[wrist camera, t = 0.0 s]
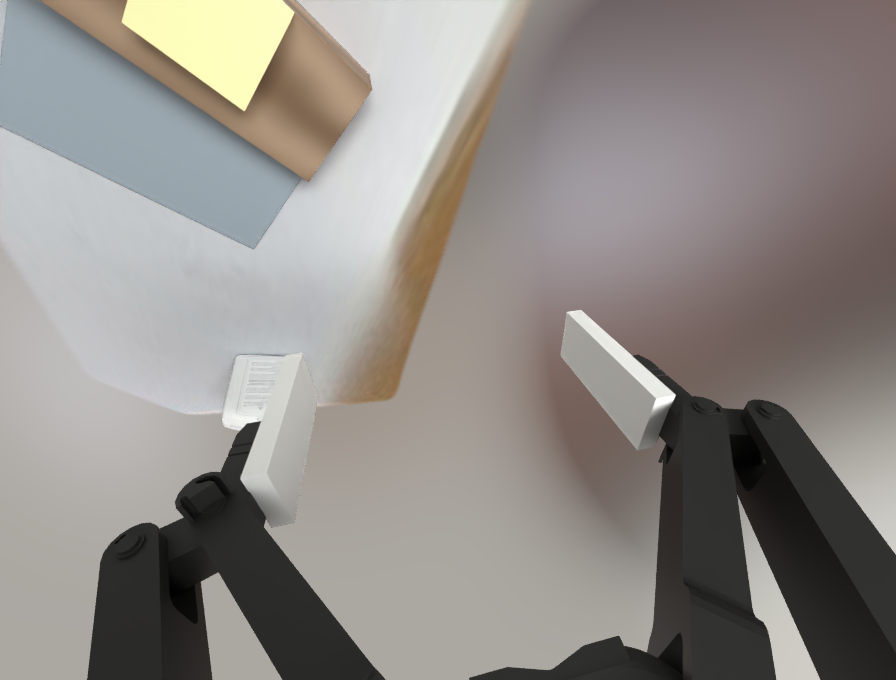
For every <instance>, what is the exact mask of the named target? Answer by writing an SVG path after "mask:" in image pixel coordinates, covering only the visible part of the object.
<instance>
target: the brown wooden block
mask: <svg viewBox="0 0 896 680" xmlns="http://www.w3.org/2000/svg"><path fill="white" fill-rule="evenodd" d="M40 1H42V2H43V3H45V4H46V5H47V6H49V7H50V8H52V9H53V10H55V11H56V12H58V13H59V14H61V15H62V16H64V17H65V18H67V19H68V20H70V21H71V22H73V23H74V24H76V25H77V26H79V27H80V28H82V29H83V30H84V31H86V32H87V33H89V34H90V35H92V36H93V37H95V38H96V39H98V40H99V41H101V42H102V43H104V44H105V45H107V46H108V47H110V48H111V49H113V50H114V51H116V52H117V53H118V54H120V55H121V56H123V57H124V58H126V59H127V60H129V61H130V62H132V63H133V64H135V65H136V66H138V67H139V68H141V69H142V70H144V71H145V72H147V73H148V74H150V75H151V76H153V77H154V78H155V79H157V80H158V81H160V82H161V83H163V84H164V85H166V86H167V87H169V88H170V89H172V90H173V91H175V92H176V93H178V94H179V95H181V96H182V97H184V98H185V99H187V100H188V101H190V102H191V103H192V104H194V105H195V106H197V107H198V108H200V109H201V110H203V111H204V112H206V113H207V114H209V115H210V116H212V117H213V118H215V119H216V120H218V121H219V122H221V123H222V124H224V125H225V126H227V127H228V128H229V129H231V130H232V131H234V132H235V133H237V134H238V135H240V136H241V137H243V138H244V139H246V140H247V141H249V142H250V143H252V144H253V145H255V146H256V147H258V148H259V149H261V150H262V151H264V152H265V153H266V154H268V155H269V156H271V157H272V158H274V159H275V160H277V161H278V162H280V163H281V164H283V165H284V166H286V167H287V168H289V169H290V170H292V171H293V172H295V173H296V174H298V175H299V176H301V177H302V178H303V179H305V180H306V181H308V182H309V181H310V179H311V178H312V176H313V175H314V173H315V172H316V170H317V169H318V167H319V166H320V165H321V163H322V162H323V160H324V159H325V157H326V156H327V154H328V153H329V151H330V150H331V149H332V147H333V146H334V144H335V143H336V141H337V140H338V138H339V137H340V135H341V134H342V133H343V131H344V130H345V128H346V127H347V125H348V124H349V122H350V121H351V119H352V118H353V117H354V115H355V114H356V112H357V111H358V109H359V108H360V106H361V105H362V103H363V102H364V101H365V99H366V98H367V96H368V95H369V93H370V92H371V90H372V85H371V80H370V75H369V74H368V73H367V72H366V71H365V70H364V69H363V68H362V67H361V66H360V65H359V64H358V63H357V62H356V61H355V60H354V59H353V58H352V57H351V56H350V54H349V53H348V52H347V51H346V50H345V49H344V48H343V47H342V46H341V45H340V44H339V43H338V42H337V41H336V40H335V39H334V38H333V37H332V36H331V35H330V34H329V33H328V32H327V31H326V30H325V29H324V28H323V27H322V26H321V25H320V24H319V23H318V22H317V21H316V20H315V19H314V18H313V17H312V16H311V15H310V14H309V13H308V12H307V11H306V10H305V9H304V8H303V7H302V6H301V5H300V4H299V3H298V2H297V1H296V0H282V1H283V2H284V3H285V4H286V5H287V6H288V7H289V8H290V9H291V10H293V11H294V12H295V13H294V15H293V17H292V20H291V22H290V24H289V26H288V28H287V30H286V31H285V33H284V35H283V37H282V39H281V41H280V43H279V45H278V47H277V49H276V51H275V53H274V55H273V57H272V59H271V61H270V63H269V65H268V67H267V69H266V71H265V73H264V75H263V77H262V79H261V80H260V82H259V84H258V86H257V88H256V90H255V92H254V94H253V96H252V98H251V100H250V102H249V104H248V106H247V108H246V110H245V111H243V110H242V109H240V108H239V107H238V106H236V105H235V104H233V103H232V102H231V101H229V100H228V99H227V98H225V97H224V96H222V95H221V94H220V93H218V92H217V91H216V90H214V89H213V88H211V87H210V86H209V85H207V84H206V83H204V82H203V81H202V80H200V79H199V78H198V77H196V76H195V75H193V74H192V73H191V72H189V71H188V70H187V69H185V68H184V67H182V66H181V65H180V64H178V63H177V62H175V61H174V60H173V59H171V58H170V57H169V56H167V55H166V54H164V53H163V52H162V51H160V50H159V49H158V48H156V47H155V46H153V45H152V44H151V43H149V42H148V41H146V40H145V39H144V38H142V37H141V36H140V35H138V34H137V33H135V32H134V31H133V30H131V29H130V28H129V27H127V26H126V25H124V24H123V23H122V18H123V15H124V11H125V8H126V4H127V0H40Z"/></svg>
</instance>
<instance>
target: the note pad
mask: <svg viewBox="0 0 896 680" xmlns="http://www.w3.org/2000/svg"><path fill="white" fill-rule="evenodd" d="M294 13H295V12H294V11H293V10H291V9H290V8H289V7H288V6H287V5H286V4H285V3H284V2H283V1H282V0H127V4H126V8H125V11H124V15H123V18H122V23H123V24H124V25H126V26H127V27H129V28H130V29H131V30H133V31H134V32H135V33H137V34H138V35H140V36H141V37H142V38H144V39H145V40H146V41H148V42H149V43H151V44H152V45H153V46H155V47H156V48H158V49H159V50H160V51H162V52H163V53H164V54H166V55H167V56H169V57H170V58H171V59H173V60H174V61H175V62H177V63H178V64H180V65H181V66H182V67H184V68H185V69H187V70H188V71H189V72H191V73H192V74H193V75H195V76H196V77H198V78H199V79H200V80H202V81H203V82H204V83H206V84H207V85H209V86H210V87H211V88H213V89H214V90H216V91H217V92H218V93H220V94H221V95H222V96H224V97H225V98H227V99H228V100H229V101H231V102H232V103H233V104H235V105H236V106H238V107H239V108H240V109H242V110H243V111H245V110H246V108H247V106H248V104H249V102H250V100H251V98H252V96H253V94H254V92H255V90H256V88H257V86H258V84H259V82H260V80H261V79H262V77H263V75H264V73H265V71H266V69H267V67H268V65H269V63H270V61H271V59H272V57H273V55H274V53H275V51H276V49H277V47H278V45H279V43H280V41H281V39H282V37H283V35H284V33H285V31H286V30H287V28H288V26H289V24H290V22H291V20H292V17H293V15H294Z"/></svg>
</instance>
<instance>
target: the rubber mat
mask: <svg viewBox="0 0 896 680" xmlns="http://www.w3.org/2000/svg"><path fill="white" fill-rule="evenodd" d="M0 126H1V127H3V128H5V129H7V130H9V131H11V132H13V133H15V134H18V135H20V136H22V137H24V138H26V139H28V140H30V141H32V142H34V143H36V144H38V145H40V146H42V147H44V148H46V149H48V150H50V151H52V152H55V153H57V154H59V155H61V156H63V157H65V158H67V159H69V160H71V161H73V162H75V163H77V164H79V165H81V166H83V167H85V168H87V169H89V170H91V171H94V172H96V173H98V174H100V175H102V176H104V177H106V178H108V179H110V180H112V181H114V182H116V183H118V184H120V185H122V186H124V187H126V188H128V189H131V190H133V191H135V192H137V193H139V194H141V195H143V196H145V197H147V198H149V199H151V200H153V201H155V202H157V203H159V204H161V205H163V206H165V207H168V208H170V209H172V210H174V211H176V212H178V213H180V214H182V215H184V216H186V217H188V218H190V219H192V220H194V221H196V222H198V223H200V224H202V225H204V226H207V227H209V228H211V229H213V230H215V231H217V232H219V233H221V234H223V235H225V236H227V237H229V238H231V239H233V240H235V241H237V242H239V243H241V244H244V245H246V246H248V247H250V248H252V249H254V248H255V246H256V245H257V243H258V242H259V240H260V239H261V237H262V236H263V234H264V233H265V231H266V230H267V228H268V227H269V225H270V224H271V222H272V221H273V219H274V218H275V216H276V215H277V213H278V212H279V210H280V209H281V207H282V206H283V204H284V203H285V201H286V200H287V198H288V197H289V195H290V194H291V192H292V191H293V189H294V188H295V187H296V185H297V184H298V182H299V181H300V179H301V178H302V177H301V176H299V175H298V174H296V173H295V172H293V171H292V170H290V169H289V168H287V167H286V166H284V165H283V164H281V163H280V162H278V161H277V160H275V159H274V158H272V157H271V156H269V155H268V154H266V153H265V152H264V151H262V150H261V149H259V148H258V147H256V146H255V145H253V144H252V143H250V142H249V141H247V140H246V139H244V138H243V137H241V136H240V135H238V134H237V133H235V132H234V131H232V130H231V129H229V128H228V127H227V126H225V125H224V124H222V123H221V122H219V121H218V120H216V119H215V118H213V117H212V116H210V115H209V114H207V113H206V112H204V111H203V110H201V109H200V108H198V107H197V106H195V105H194V104H192V103H191V102H190V101H188V100H187V99H185V98H184V97H182V96H181V95H179V94H178V93H176V92H175V91H173V90H172V89H170V88H169V87H167V86H166V85H164V84H163V83H161V82H160V81H158V80H157V79H155V78H154V77H153V76H151V75H150V74H148V73H147V72H145V71H144V70H142V69H141V68H139V67H138V66H136V65H135V64H133V63H132V62H130V61H129V60H127V59H126V58H124V57H123V56H121V55H120V54H118V53H117V52H116V51H114V50H113V49H111V48H110V47H108V46H107V45H105V44H104V43H102V42H101V41H99V40H98V39H96V38H95V37H93V36H92V35H90V34H89V33H87V32H86V31H84V30H83V29H82V28H80V27H79V26H77V25H76V24H74V23H73V22H71V21H70V20H68V19H67V18H65V17H64V16H62V15H61V14H59V13H58V12H56V11H55V10H53V9H52V8H50V7H49V6H47V5H46V4H45V3H43V2H42V1H40V0H7V8H6V17H5V25H4V34H3V42H2V51H1V60H0Z"/></svg>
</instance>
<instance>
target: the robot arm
mask: <svg viewBox="0 0 896 680" xmlns="http://www.w3.org/2000/svg"><path fill="white" fill-rule="evenodd" d="M561 357H562V358H563V359H564V361H565V362H566V363H567V364H568V366H569V367H570V368H571V369H572V370H573V372H574V373H575V374H576V375H577V376H578V378H579V379H580V380H581V382H582V383H583V384H584V385H585V386H586V388H587V389H588V390H589V391H590V393H591V394H592V395H593V396H594V397H595V399H596V400H597V401H598V402H599V404H600V405H601V406H602V407H603V409H604V410H605V411H606V412H607V413H608V415H609V416H610V417H611V418H612V420H613V421H614V422H615V423H616V424H617V426H618V427H619V428H620V429H621V430H622V432H623V433H624V434H625V436H626V437H627V438H628V439H629V441H630V442H631V443H632V444H633V445H634V447H635V448H636V449H637V450H641V449H646V448H650V447H655V445H656V443H657V440H658V438H659V436H660V437H661V438H662V439H663V440H664V441H665V442H666V445H665V448H664V449H663V452H662V454H661V456H660V459H659V462H660V463H661V462H662V461H663V470H662V486H661V503H660V520H659V537H658V538H659V539H658V555H657V572H656V590H655V607H654V622H653V629H652V633H651V636H650V640H649V645H648V650H647V653H646V652H644V651H641V650H639V649H635V648H631V647H627V646H624V645H623V643H622V641H621V639H620V637H619V636H616V637H612V638H609V639H605V640H602V641H598V642H595V643H591V644H588V645H584V646H583V647H581V648H580V649H579V650H577V651H576V652H575V653H574V654H572V655H571V656H569V657H568V658H567V659H566V660H564V661H563V662H562V663H560V664H559V665H558V666H556V667H555V668H553V669H551V670H537V669H525V668H512V667H506V668H503V669H499V670H496V671H492V672H488V673H485V674H482V675H478V676H474V677H471V678H469V680H776V675H775V668H774V662H773V656H772V650H771V643H770V638H769V634H768V631H767V628H766V626H765V625H764V623H763V622H762V621H760V620H759V619H757V618H756V617H755V615H754V613H753V608H752V602H751V594H750V587H749V580H748V572H747V565H746V557H745V550H744V542H743V536H742V528H741V520H740V514H739V505H738V498H737V495H738V497H739V499H740V501H741V504H742V506H743V508H744V510H745V513H746V515H747V517H748V519H749V521H750V523H751V526H752V528H753V530H754V533H755V535H756V537H757V539H758V541H759V544H760V546H761V548H762V550H763V553H764V555H765V557H766V559H767V561H768V564H769V566H770V568H771V570H772V573H773V574H774V577H775V579H776V582H777V584H778V586H779V588H780V590H781V593H782V595H783V597H784V599H785V602H786V604H787V606H788V608H789V610H790V613H791V615H792V617H793V619H794V622H795V624H796V626H797V628H798V630H799V633H800V635H801V637H802V639H803V641H804V644H805V646H806V648H807V651H808V652H809V655H810V657H811V659H812V662H813V664H814V666H815V668H816V671H817V673H818V675H819V677H820V680H896V555H895V553H894V552H893V551H892V549H891V548H890V547H889V545H888V544H887V542H886V541H885V540H884V539H883V537H882V536H881V534H880V533H879V532H878V530H877V529H876V528H875V526H874V525H873V524H872V522H871V521H870V520H869V518H868V517H867V516H866V514H865V513H864V512H863V510H862V509H861V507H860V506H859V505H858V504H857V502H856V501H855V499H854V498H853V497H852V495H851V494H850V493H849V491H848V490H847V489H846V487H845V486H844V485H843V483H842V482H841V481H840V479H839V478H838V477H837V475H836V474H835V473H834V471H833V470H832V468H831V467H830V466H829V464H828V463H827V462H826V460H825V459H824V458H823V456H822V455H821V454H820V452H819V451H818V450H817V448H816V447H815V446H814V444H813V443H812V442H811V440H810V439H809V438H808V436H807V435H806V433H805V432H804V431H803V429H802V428H801V427H800V425H799V424H798V423H797V421H796V420H795V419H794V417H793V416H792V415H791V414H790V413H789V412H788V411H787V410H786V409H784V408H782V407H781V406H779V405H777V404H775V403H772V402H769V401H764V400H751V401H748V403H747V404H746V406H745V408H744V410H742V409H741V410H740V409H725V408H722V407H721V406H720V405H719V404H717V403H715V402H714V401H712V400H709V399H707V398H704V397H697V396H693V397H692V396H691V395H690V394H689V393H688V392H686V391H685V390H684V389H683V388H682V387H681V386H679V385H678V384H677V383H676V382H675V381H673V380H672V379H671V378H670V377H669V376H666V374H665V373H664V372H663V371H662V370H659V368H658V367H657V366H656V365H655V364H654V363H652V362H651V361H650V360H648V359H646V358H644V357H642V356H640V355H633V356H632V355H630V354H629V353H628V352H627V351H626V350H625V349H624V348H623V347H622V346H620V345H619V344H618V343H617V342H616V341H615V340H614V339H613V338H611V337H610V336H609V335H608V334H607V333H606V332H605V331H604V330H603V329H601V328H600V327H599V326H598V325H597V324H596V323H595V322H594V321H592V320H591V319H590V318H589V317H588V316H587V315H586V314H585V313H583V312H582V311H581V310H578V311H571V312H567V314H566V321H565V328H564V335H563V342H562V349H561ZM318 398H319V396H318V393H317V390H316V388H315V385H314V382H313V379H312V377H311V374H310V371H309V368H308V366H307V363H306V360H305V357H304V354H303V353H296V354H290V355H286V356H285V358H284V361H283V364H282V367H281V369H280V372H279V375H278V377H277V380H276V383H275V385H274V388H273V391H272V394H271V396H270V399H269V402H268V404H267V407H266V410H265V413H264V415H263V418H262V421H259V422H253V423H247V424H246V425H245V426H244V427H243V428H242V429H241V430H240V432H239V433H238V434H237V435H236V438H235V440H234V442H233V444H232V448H231V449H230V451H229V454H228V457H227V459H226V461H225V463H224V465H223V468H222V470H221V472H209V473H206V474H203V475H201V476H199V477H197V478H195V479H193V480H192V481H190V482H189V483H188V484H187V485H185V486H184V488H183V489H182V490H181V491H180V493H179V494H178V496H177V498H176V501H175V504H176V509H177V510H178V511H179V512H180V513H181V514H182V515H183V517H184V518H182V519H180V520H178V521H176V522H173V523H172V524H169V525H167V526H164V527H162V528H160V529H159V528H158V527H157V526H156V525H154V524H152V523H142V524H139V525H136V526H134V527H132V528H130V529H128V530H126V531H125V532H123V533H122V534H120V535H119V536H118V537H117V538H116V539H115V540H114V541H113V542H111V543H110V545H109V546H108V548H107V549H106V550H105V552H104V553H103V556H102V559H101V562H100V571H99V580H98V588H97V597H96V606H95V616H94V625H93V634H92V643H91V651H90V660H89V669H88V678H87V680H212V672H211V664H210V655H209V648H208V639H207V630H206V622H205V614H204V605H203V597H202V589H201V581H203V580H205V579H206V578H208V577H210V576H212V575H214V574H216V573H217V572H219V574H220V575H221V577H222V579H223V580H224V582H225V584H226V586H227V587H228V589H229V591H230V592H231V594H232V596H233V597H234V599H235V601H236V602H237V604H238V606H239V607H240V609H241V611H242V612H243V614H244V616H245V617H246V619H247V621H248V622H249V624H250V626H251V628H252V629H253V631H254V633H255V634H256V636H257V638H258V639H259V641H260V643H261V644H262V646H263V648H264V649H265V651H266V653H267V654H268V656H269V658H270V660H271V661H272V663H273V665H274V666H275V668H276V670H277V671H278V673H279V674H280V676H281V678H282V680H385V679H384V677H383V676H382V675H381V674H380V673H379V672H378V671H377V670H376V669H375V668H374V666H373V665H372V664H371V663H370V662H369V660H368V659H367V658H366V657H365V655H364V654H363V653H362V652H361V650H360V649H359V648H358V646H357V645H356V644H355V643H354V641H353V640H352V639H351V637H350V636H349V635H348V634H347V632H346V631H345V630H344V629H343V627H342V626H341V625H340V623H339V622H338V621H337V620H336V618H335V617H334V616H333V615H332V613H331V612H330V611H329V610H328V608H327V607H326V606H325V604H324V603H323V602H322V601H321V599H320V598H319V597H318V596H317V594H316V593H315V592H314V591H313V589H312V588H311V587H310V585H309V584H308V583H307V582H306V580H305V579H304V578H303V576H302V575H301V574H300V573H299V571H298V570H297V569H296V568H295V567H294V565H293V564H292V563H291V561H290V560H289V559H288V557H287V556H286V555H285V554H284V552H283V551H282V550H281V549H280V547H279V546H278V545H277V544H276V542H275V541H274V540H273V538H272V537H271V536H270V535H269V533H268V532H267V531H266V529H265V528H264V524H265V520H267V521H268V523H269V525H270V526H271V528H272V527H277V526H282V525H287V524H291V523H294V522H295V517H296V512H297V506H298V501H299V496H300V491H301V486H302V480H303V475H304V470H305V464H306V460H307V454H308V449H309V444H310V439H311V434H312V429H313V424H314V418H315V413H316V408H317V403H318Z"/></svg>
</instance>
